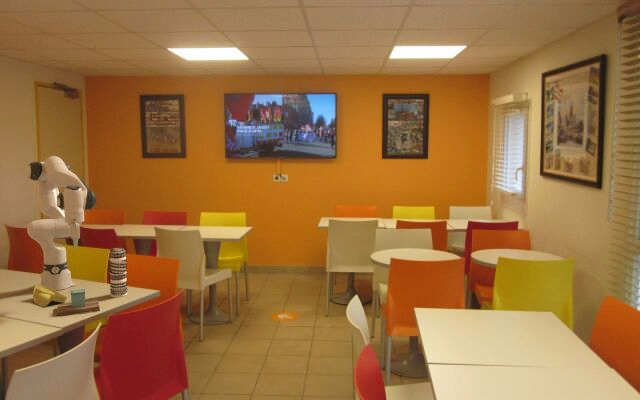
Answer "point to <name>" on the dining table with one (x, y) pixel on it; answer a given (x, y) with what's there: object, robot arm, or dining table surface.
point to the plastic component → (46, 295)
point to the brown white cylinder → (118, 272)
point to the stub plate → (78, 308)
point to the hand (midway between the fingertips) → (75, 245)
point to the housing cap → (78, 298)
